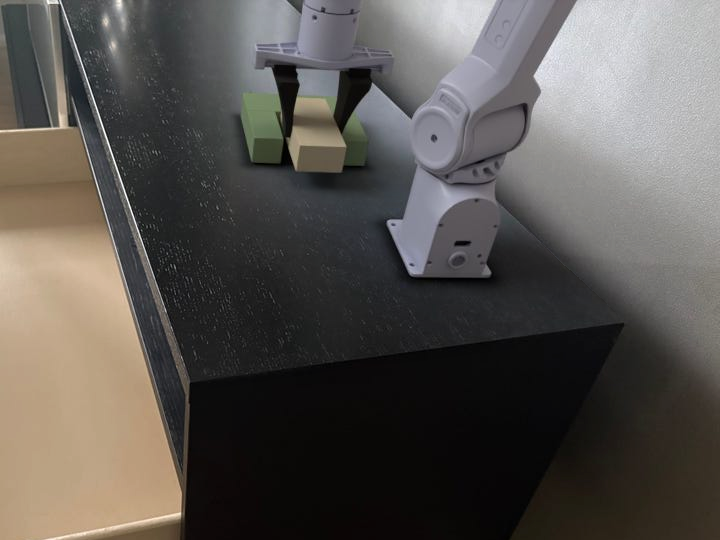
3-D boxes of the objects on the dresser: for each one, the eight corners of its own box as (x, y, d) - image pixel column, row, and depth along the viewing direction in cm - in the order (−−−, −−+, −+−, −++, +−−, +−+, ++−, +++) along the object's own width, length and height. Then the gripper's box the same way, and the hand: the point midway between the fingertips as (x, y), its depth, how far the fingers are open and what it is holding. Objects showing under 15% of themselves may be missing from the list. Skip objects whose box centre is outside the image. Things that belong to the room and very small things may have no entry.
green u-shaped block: (364, 165, 86) (369, 141, 84) (251, 162, 84) (254, 137, 82) (342, 119, 95) (347, 96, 93) (240, 116, 93) (242, 92, 91)
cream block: (341, 172, 81) (346, 146, 79) (295, 171, 80) (299, 145, 78) (321, 123, 89) (325, 98, 87) (279, 121, 89) (283, 96, 87)
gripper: (392, -4, 79) (366, 120, 88) (254, -12, 77) (242, 116, 86) (410, 19, 73) (381, 149, 82) (263, 11, 71) (249, 145, 81)
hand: (311, 134), depth 84 cm, fingers closed on cream block, 5 cm apart
